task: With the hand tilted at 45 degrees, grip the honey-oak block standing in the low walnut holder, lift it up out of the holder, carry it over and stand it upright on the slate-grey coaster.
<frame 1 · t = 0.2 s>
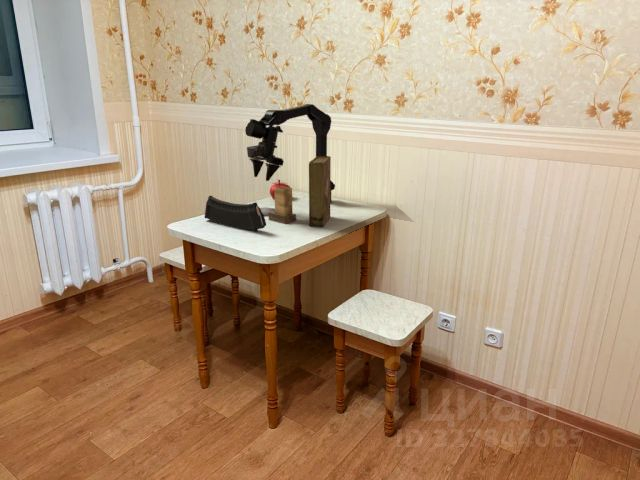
hand: (261, 178, 197), 15 cm above the table, tool tilted 15°, fingers open, 9 cm apart
holder: (283, 219, 194), on the table
oak block: (283, 204, 192), in the holder
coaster: (263, 212, 204), on the table
magazine: (234, 227, 186), on the table
pomegranate: (280, 199, 228), on the table
book: (320, 222, 192), on the table
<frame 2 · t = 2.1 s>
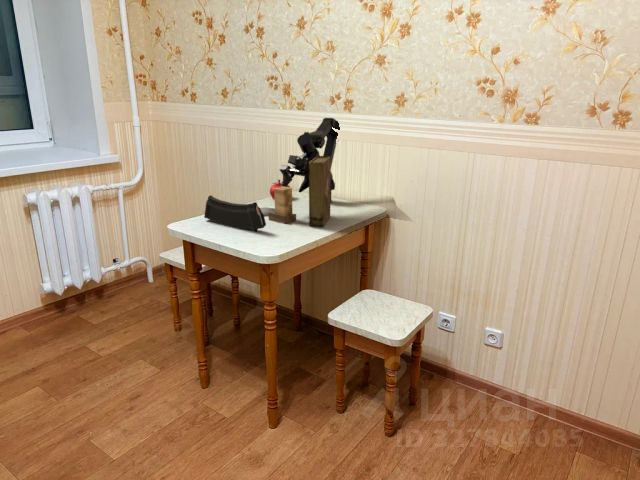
hand: (290, 190, 194), 11 cm above the table, tool tilted 45°, fingers open, 9 cm apart
nothing on the table moved.
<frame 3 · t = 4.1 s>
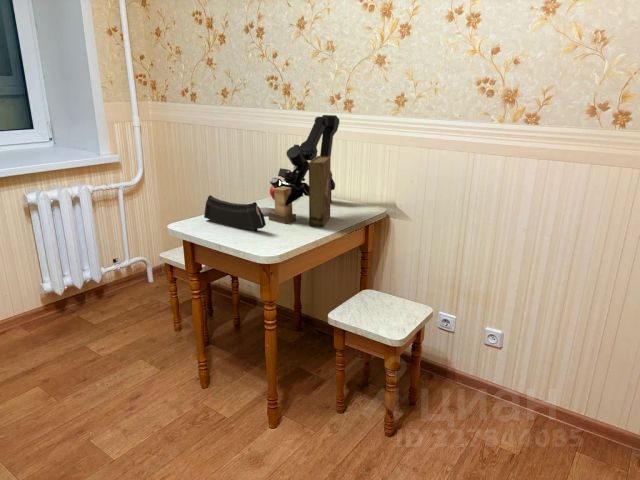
hand: (281, 204, 191), 7 cm above the table, tool tilted 45°, fingers closed on oak block, 5 cm apart
oak block: (283, 204, 192), in the holder, touching gripper
everything else where it was.
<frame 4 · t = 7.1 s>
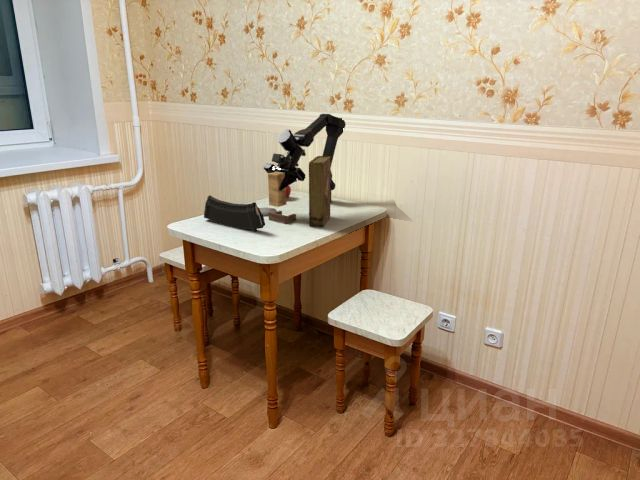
hand: (274, 189, 192), 12 cm above the table, tool tilted 45°, fingers closed on oak block, 5 cm apart
oak block: (277, 189, 193), point 12 cm above the table, touching gripper
everything else where it was.
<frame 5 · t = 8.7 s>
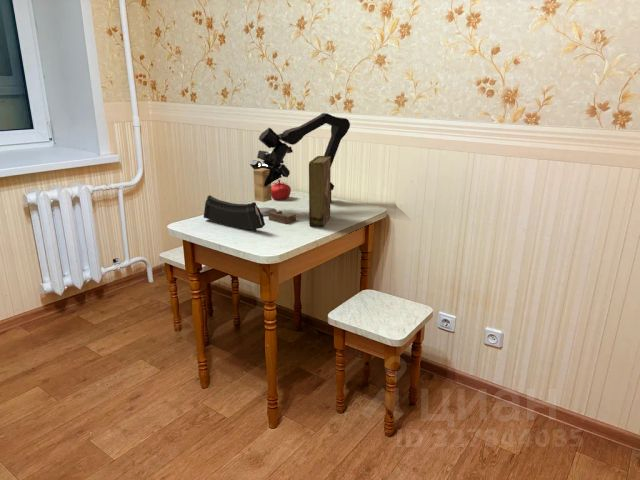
hand: (260, 184, 199), 12 cm above the table, tool tilted 45°, fingers closed on oak block, 5 cm apart
oak block: (262, 185, 200), point 12 cm above the table, touching gripper
everything else where it was.
when the fingers open (8 cm above the table, at t = 10.3 s): oak block stays where it is, resting on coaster.
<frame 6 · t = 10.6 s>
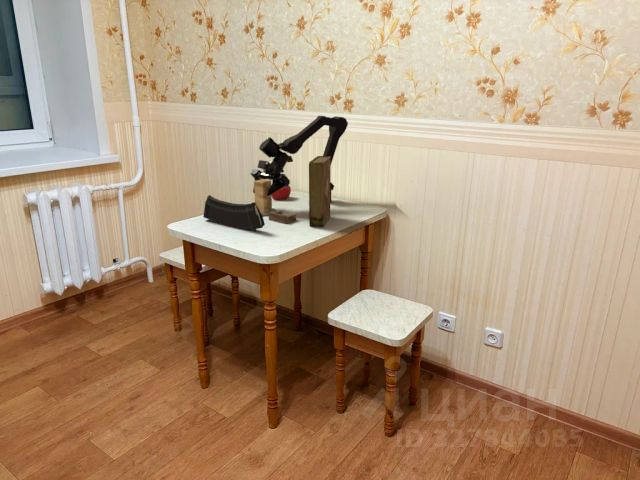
hand: (260, 194, 201), 8 cm above the table, tool tilted 45°, fingers open, 8 cm apart
oak block: (263, 196, 202), on the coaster, point 7 cm above the table
everything else where it was.
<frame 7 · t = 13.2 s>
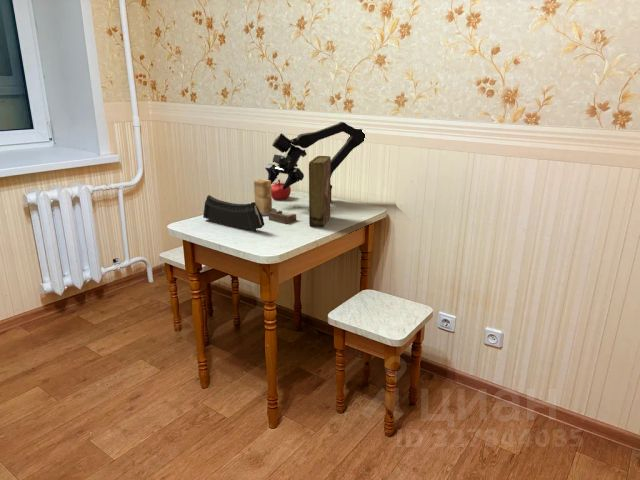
hand: (275, 187, 207), 10 cm above the table, tool tilted 45°, fingers open, 9 cm apart
nothing on the table moved.
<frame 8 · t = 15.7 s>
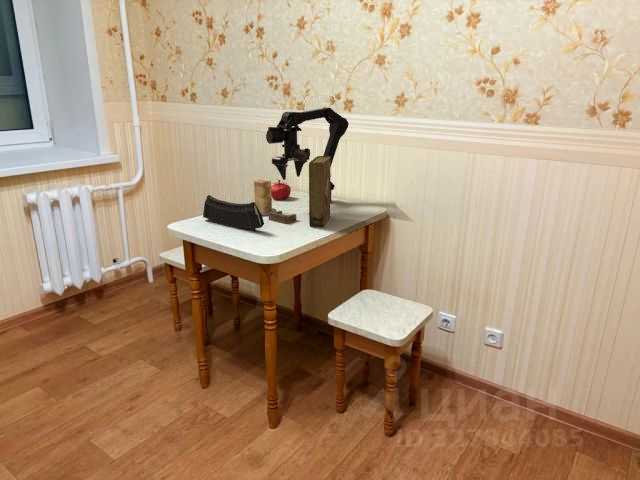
hand: (291, 178, 209), 13 cm above the table, tool pointing down, fingers open, 9 cm apart
nothing on the table moved.
at the end: oak block 0.0 cm off-centre on the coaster, point 7.3 cm above the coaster's base; oak block tilted 0°; the gripper is holding nothing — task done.
